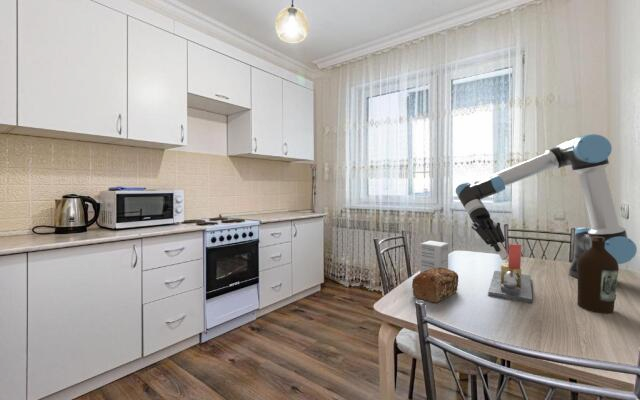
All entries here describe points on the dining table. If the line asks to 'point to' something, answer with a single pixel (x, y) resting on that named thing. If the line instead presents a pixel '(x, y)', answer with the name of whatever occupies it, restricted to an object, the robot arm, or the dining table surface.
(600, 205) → the robot arm
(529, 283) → the valve pipe
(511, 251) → the lever
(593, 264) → the olive oil
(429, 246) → the supplement box
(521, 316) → the dining table surface
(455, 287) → the bread
